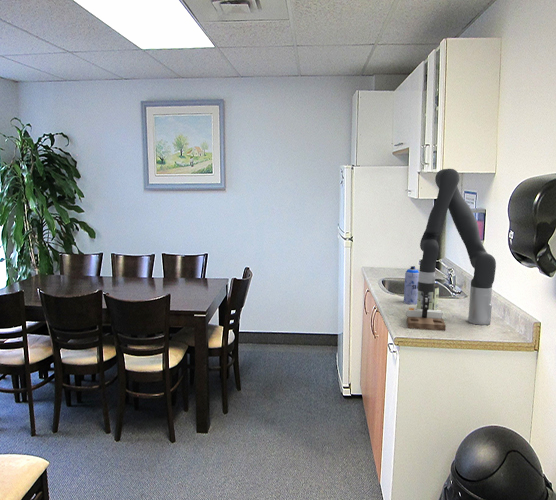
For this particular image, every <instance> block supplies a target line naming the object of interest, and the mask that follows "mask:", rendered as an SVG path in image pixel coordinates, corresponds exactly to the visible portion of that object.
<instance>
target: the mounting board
mask: <svg viewBox="0 0 556 500" xmlns="http://www.w3.org/2000/svg"><path fill="white" fill-rule="evenodd" d="M406 324H408V325H407V329H414V328H415V330H418V329H419V330H429V331H430V330H431V331H443V332H445V331H446V328H447V326H446V323H445V320H444V319H443V318H442V319H437V318H422V317H408V316H407V315H406Z"/></svg>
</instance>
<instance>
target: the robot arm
mask: <svg viewBox="0 0 556 500" xmlns="http://www.w3.org/2000/svg"><path fill="white" fill-rule="evenodd" d="M460 179H461V177H460V174H459V172H458V171H457V170H456V169H454V168H443V169H439V171H438V172H436V174H435V180H434V181H435V184H436V186H437V188H438V191H437V192H438V193H437V196H436V200H435V202H434V204H433V206H432V208H431V211H430V213H429V216H428V219H427V224H426V227H425V230H424V232H423V235H422V236H421V238H420V239H421V240H420V243H419V248H420V250H421V251H422V252H423V253H422V259H420V261H419V269H418V271H419V276H418V291H421V306H422V307H421V309H422V318H427V310H428V309H429V300H430V295H429V292H434V287H435V283H436V266H437V265H436V263H437V260H438V256H439V251H440V249H439V243H438V241H437V239H438V236H439V235H440V234H441V233H442V230H443V228H444V225H445V220H446V216H447V213H448V210H449V214H450V216H451V219H452V221H453V224H454V226H455V228H456V231H457V232H458V235H459V237H460V238H461V241H462V242H463V244H464V246H465V249H466V252H467V255H468V259H469V262H470V265H471V266H472V268H473V278H472V279H471V281H470V290H469V303H468V314H467V315H468V317H467V322H469V323H470V324H473V325H479V326H486V325H487V326H488V325H491V321H492V307H493V305H492V294H493V293H492V292H493V284H494V282H495V276H496V269H497V262H496V259H495V257H494V256H493V255H491V254H490V253H488V252H487V250H486V248H485V247H484V244H483V243H482V241H481V236H480V230H479V224H478V222H477V218H476V217H475V214H474V212H473V210H472V208H471V207H470V205H469V204H468V203H467V201H466V200H465V199H464V197H463V196H462V194H461V192H460V189H459V187H458V186H459V183H460ZM426 306H427V307H426Z"/></svg>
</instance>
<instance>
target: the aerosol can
mask: <svg viewBox="0 0 556 500" xmlns="http://www.w3.org/2000/svg"><path fill="white" fill-rule="evenodd" d="M418 276H419V269H417V268H416V265H415V266H414V265H413V266H410V268H408V269H407V270H406V271H405V273H404V291H403V293H404V294H403V295H404V296H403V303H404V304H405V305H411V306H412V305H413V306H414V305H416V306H417V298H418Z"/></svg>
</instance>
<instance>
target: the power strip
mask: <svg viewBox="0 0 556 500" xmlns="http://www.w3.org/2000/svg"><path fill="white" fill-rule="evenodd" d="M407 316H408V317H422V309H417V308H414V307H407V308H406V317H407ZM443 316H444V312H443V310H441V309H438V310H427V318H437V319H443Z"/></svg>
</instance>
